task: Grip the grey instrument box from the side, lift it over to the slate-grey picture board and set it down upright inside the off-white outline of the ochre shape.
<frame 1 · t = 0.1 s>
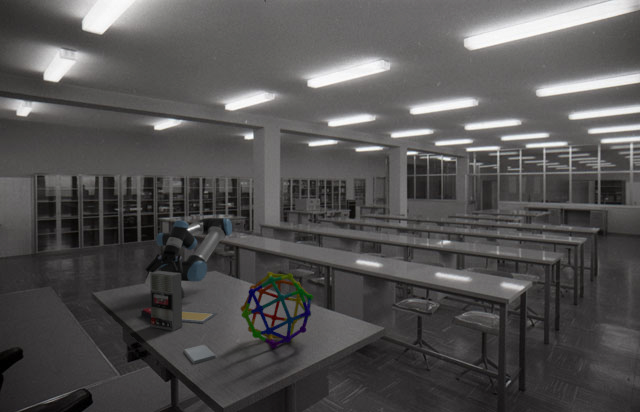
hand: (158, 285, 184), 15 cm above the lab bench, tool tilted 35°, fingers open, 13 cm apart
hard drive: (199, 356, 141), on the lab bench
geometric model: (277, 343, 151), on the lab bench
grey instrument box: (166, 327, 169), on the lab bench
picture board: (191, 317, 183), on the lab bench
calculator: (158, 317, 184), on the lab bench
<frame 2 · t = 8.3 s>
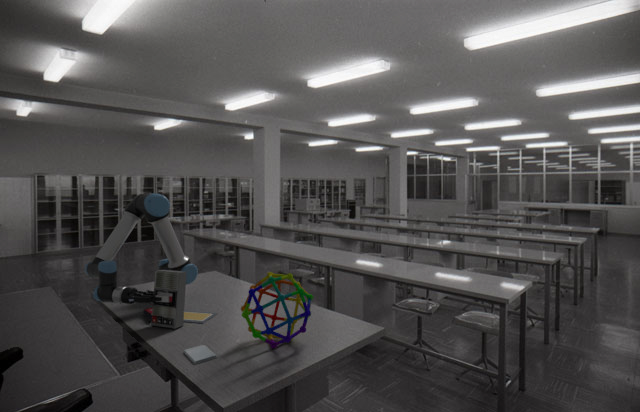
hand: (170, 298, 168), 14 cm above the lab bench, tool horizontal, fingers closed on grey instrument box, 2 cm apart
grey instrument box: (166, 326, 170), on the lab bench, touching gripper
calculator: (159, 317, 183), on the lab bench, touching picture board
everything else where it was.
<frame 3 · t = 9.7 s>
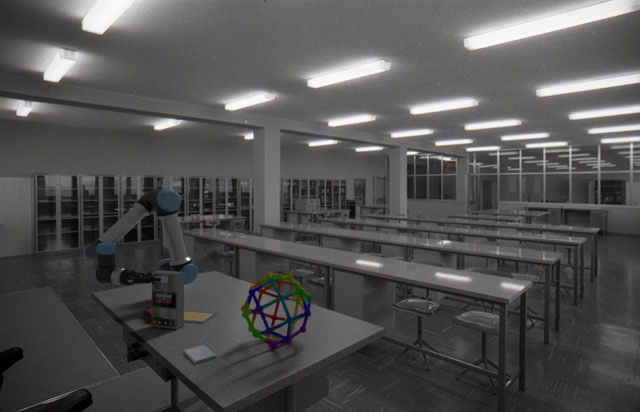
hand: (169, 279, 167), 22 cm above the lab bench, tool horizontal, fingers closed
grey instrument box: (167, 326, 170), on the lab bench, touching gripper
everything else where it was.
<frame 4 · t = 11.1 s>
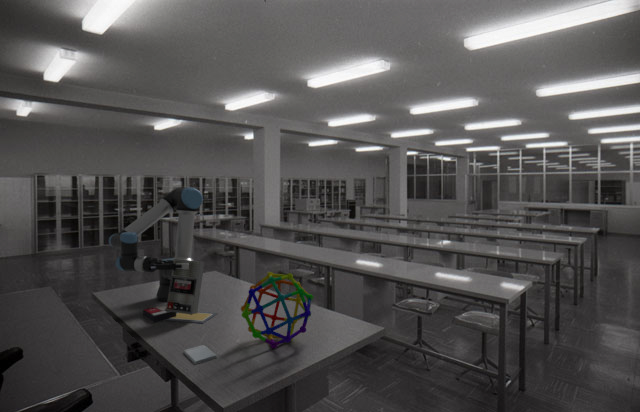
hand: (189, 265, 178), 26 cm above the lab bench, tool horizontal, fingers closed
grey instrument box: (181, 313, 177), point 4 cm above the lab bench
calculator: (159, 317, 184), on the lab bench
everything else where it was.
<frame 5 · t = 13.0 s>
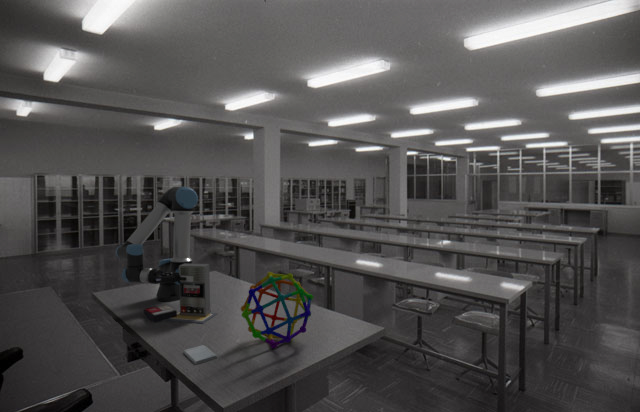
hand: (194, 278, 181), 20 cm above the lab bench, tool horizontal, fingers closed
grey instrument box: (195, 314, 185), resting on picture board, touching gripper
everything else where it was.
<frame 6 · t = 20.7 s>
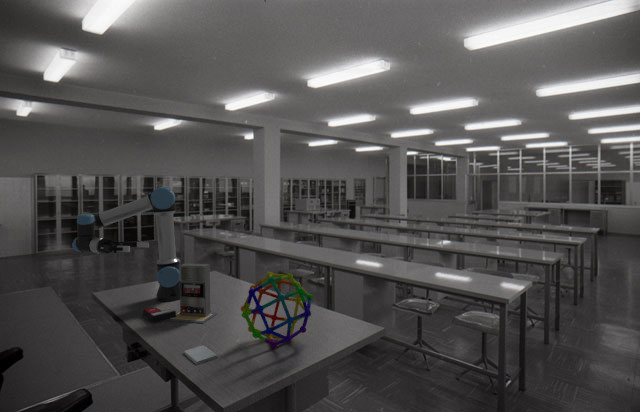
hand: (139, 246, 181), 35 cm above the lab bench, tool horizontal, fingers open, 13 cm apart
grey instrument box: (195, 314, 185), resting on picture board
everything else where it was.
at the end: grey instrument box 2.8 cm off-centre on the picture board, point 0.3 cm above the picture board's base; grey instrument box tilted 0°; the gripper is holding nothing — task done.
